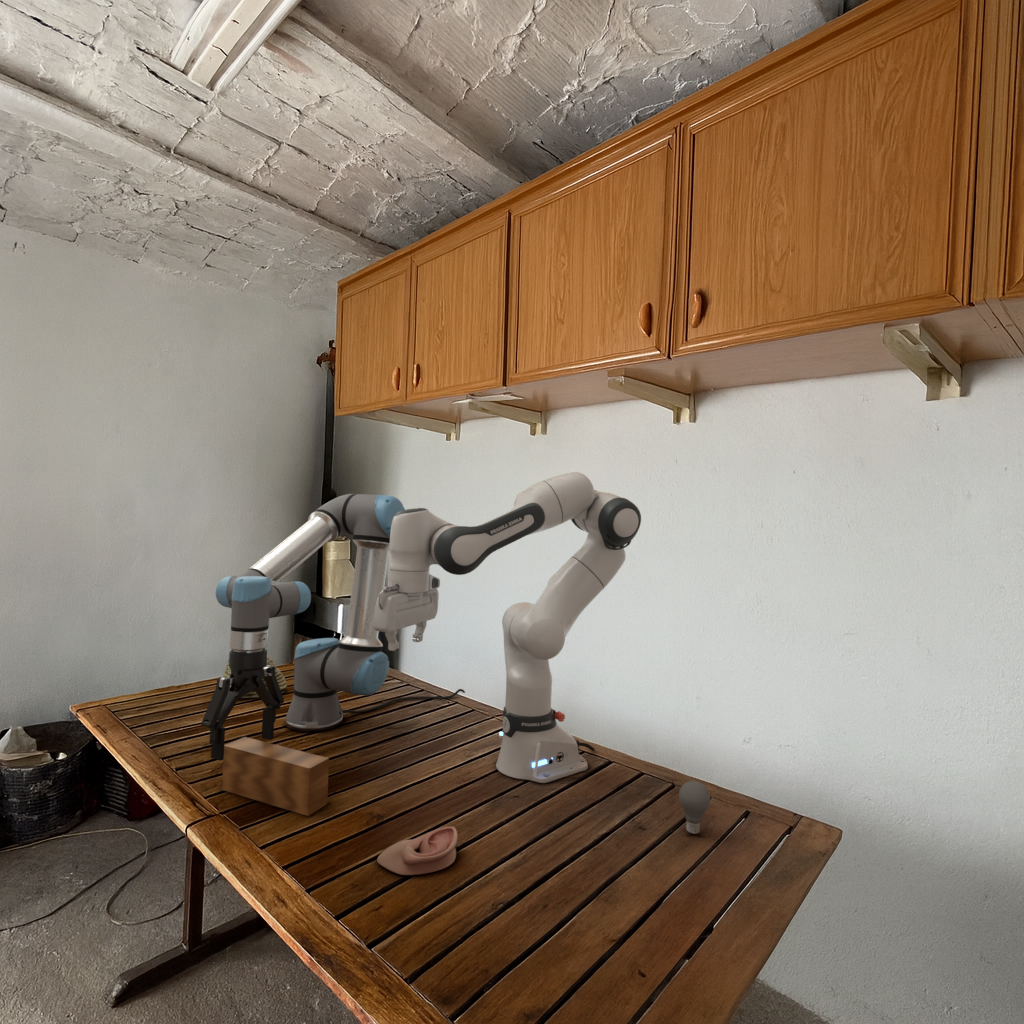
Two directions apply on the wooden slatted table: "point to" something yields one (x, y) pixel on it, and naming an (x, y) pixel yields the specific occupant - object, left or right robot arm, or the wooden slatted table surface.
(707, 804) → the light bulb
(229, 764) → the bar
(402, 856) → the anatomical model
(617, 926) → the wooden slatted table surface
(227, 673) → the fossil
